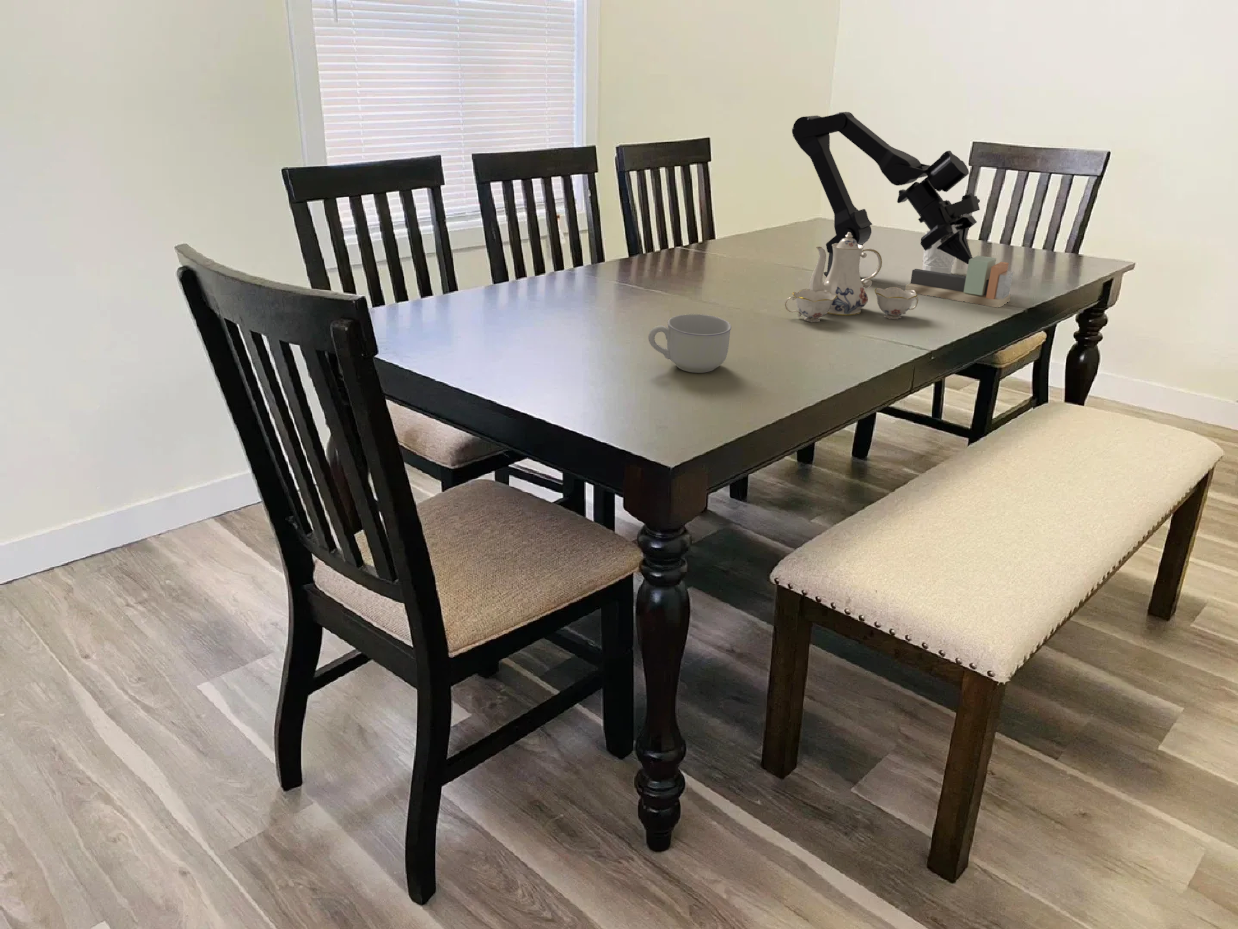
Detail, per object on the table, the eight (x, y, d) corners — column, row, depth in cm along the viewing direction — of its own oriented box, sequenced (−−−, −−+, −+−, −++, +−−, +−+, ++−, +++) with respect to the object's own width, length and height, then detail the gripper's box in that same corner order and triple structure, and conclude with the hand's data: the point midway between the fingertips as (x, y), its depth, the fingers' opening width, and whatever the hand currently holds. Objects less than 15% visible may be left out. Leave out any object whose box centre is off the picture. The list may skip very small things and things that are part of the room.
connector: (995, 298, 198) (999, 274, 196) (1002, 294, 201) (1006, 270, 199) (1001, 299, 197) (1006, 275, 195) (1008, 295, 200) (1013, 271, 198)
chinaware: (799, 336, 181) (812, 253, 172) (766, 306, 195) (776, 228, 186) (924, 327, 188) (942, 248, 179) (884, 299, 202) (899, 224, 193)
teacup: (723, 357, 162) (726, 313, 159) (732, 378, 152) (736, 331, 149) (645, 357, 162) (646, 313, 158) (648, 377, 152) (650, 330, 148)
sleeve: (963, 292, 201) (969, 259, 198) (972, 287, 205) (977, 255, 202) (981, 295, 199) (987, 262, 196) (990, 290, 203) (996, 258, 200)
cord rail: (910, 283, 210) (912, 270, 208) (913, 281, 211) (915, 268, 210) (997, 297, 199) (999, 283, 197) (1000, 295, 200) (1002, 282, 199)
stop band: (985, 297, 198) (991, 266, 195) (995, 292, 203) (1001, 261, 200) (993, 299, 197) (999, 267, 194) (1002, 293, 202) (1008, 262, 199)
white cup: (948, 271, 229) (955, 230, 225) (956, 278, 222) (963, 236, 217) (916, 270, 229) (922, 229, 225) (922, 277, 222) (929, 235, 218)
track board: (905, 291, 208) (906, 285, 208) (917, 286, 213) (918, 279, 213) (999, 307, 197) (1000, 300, 196) (1009, 301, 202) (1010, 294, 201)
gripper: (943, 185, 190) (988, 246, 188) (974, 177, 204) (1016, 234, 202) (902, 220, 198) (944, 278, 196) (934, 209, 211) (974, 264, 210)
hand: (971, 263), depth 201 cm, fingers closed, pressing on sleeve
